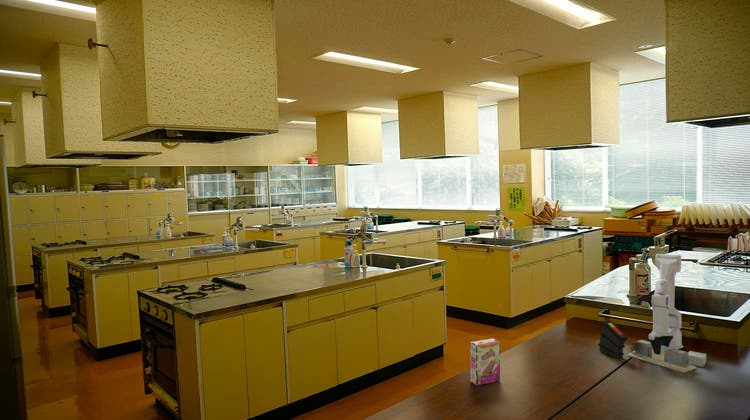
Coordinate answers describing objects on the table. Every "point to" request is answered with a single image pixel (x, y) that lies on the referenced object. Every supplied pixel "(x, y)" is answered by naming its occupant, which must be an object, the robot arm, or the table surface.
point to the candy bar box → (485, 361)
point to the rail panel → (674, 360)
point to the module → (661, 353)
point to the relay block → (696, 358)
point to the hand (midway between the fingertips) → (660, 352)
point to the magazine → (612, 340)
